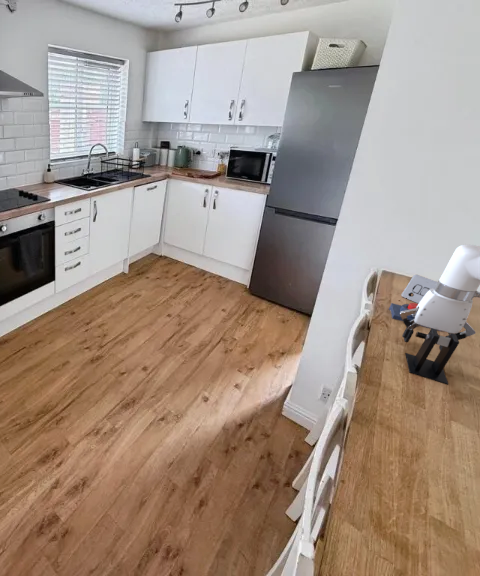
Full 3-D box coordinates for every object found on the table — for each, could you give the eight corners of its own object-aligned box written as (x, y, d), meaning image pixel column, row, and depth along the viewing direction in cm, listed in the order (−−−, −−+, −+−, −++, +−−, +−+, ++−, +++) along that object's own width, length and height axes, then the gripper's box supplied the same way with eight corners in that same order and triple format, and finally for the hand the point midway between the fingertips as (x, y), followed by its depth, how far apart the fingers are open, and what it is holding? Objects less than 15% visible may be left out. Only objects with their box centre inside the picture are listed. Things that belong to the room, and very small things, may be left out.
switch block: (435, 320, 124) (441, 310, 122) (440, 333, 117) (446, 323, 115) (388, 308, 130) (393, 298, 128) (391, 320, 123) (396, 310, 121)
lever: (414, 337, 107) (417, 329, 106) (436, 343, 104) (439, 335, 104) (429, 342, 95) (433, 333, 95) (454, 349, 93) (458, 340, 92)
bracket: (403, 356, 105) (422, 321, 100) (439, 366, 101) (460, 331, 96) (407, 375, 97) (428, 338, 92) (446, 387, 94) (470, 350, 88)
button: (421, 309, 123) (423, 305, 122) (422, 314, 120) (425, 310, 119) (406, 306, 125) (408, 301, 124) (407, 311, 122) (410, 306, 121)
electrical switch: (399, 296, 139) (412, 274, 135) (406, 295, 141) (418, 273, 137) (428, 308, 132) (442, 285, 128) (434, 306, 134) (448, 283, 130)
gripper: (493, 295, 96) (459, 349, 105) (411, 277, 104) (385, 329, 112) (502, 307, 91) (465, 363, 99) (415, 287, 99) (387, 340, 107)
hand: (423, 344), depth 106 cm, fingers open, 7 cm apart
